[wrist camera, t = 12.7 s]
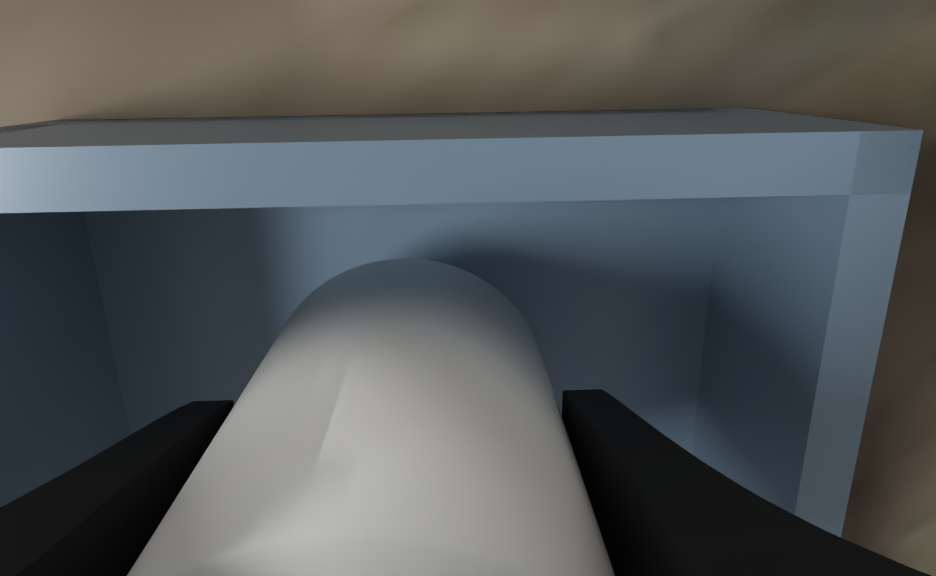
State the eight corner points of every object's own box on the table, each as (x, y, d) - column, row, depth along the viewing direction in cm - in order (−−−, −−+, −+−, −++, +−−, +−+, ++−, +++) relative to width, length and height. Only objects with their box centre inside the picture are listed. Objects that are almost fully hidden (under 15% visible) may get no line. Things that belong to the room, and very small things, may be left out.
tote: (672, 747, 19) (750, 980, 14) (190, 768, 18) (100, 1015, 13) (748, 107, 13) (923, 130, 8) (52, 120, 13) (-187, 151, 8)
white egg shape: (541, 500, 13) (644, 964, 6) (285, 508, 13) (108, 994, 6) (547, 254, 11) (697, 525, 5) (255, 261, 11) (-32, 549, 4)
